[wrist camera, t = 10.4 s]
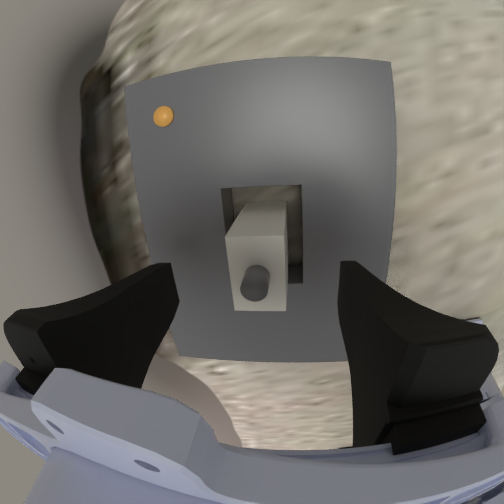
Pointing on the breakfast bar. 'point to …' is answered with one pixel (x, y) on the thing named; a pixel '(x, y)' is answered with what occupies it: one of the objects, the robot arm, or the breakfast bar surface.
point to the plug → (259, 257)
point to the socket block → (265, 174)
